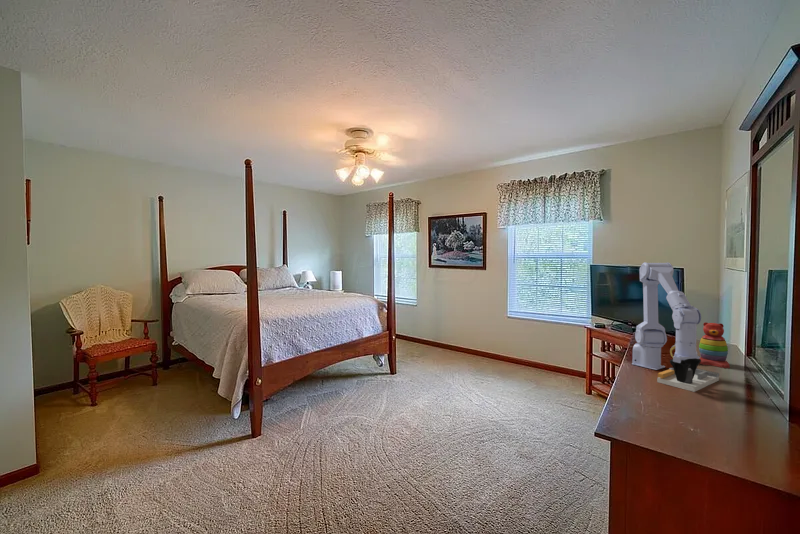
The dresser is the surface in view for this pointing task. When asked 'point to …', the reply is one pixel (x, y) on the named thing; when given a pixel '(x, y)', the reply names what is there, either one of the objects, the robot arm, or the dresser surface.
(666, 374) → the orange-brown long box
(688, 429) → the dresser surface
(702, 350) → the stacking bear
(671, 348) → the ring
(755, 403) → the dresser surface
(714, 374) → the white tray
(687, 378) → the plug
